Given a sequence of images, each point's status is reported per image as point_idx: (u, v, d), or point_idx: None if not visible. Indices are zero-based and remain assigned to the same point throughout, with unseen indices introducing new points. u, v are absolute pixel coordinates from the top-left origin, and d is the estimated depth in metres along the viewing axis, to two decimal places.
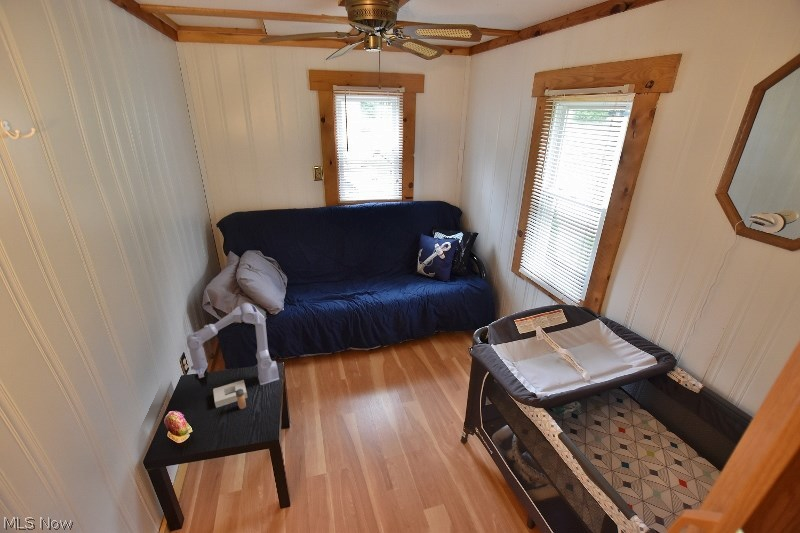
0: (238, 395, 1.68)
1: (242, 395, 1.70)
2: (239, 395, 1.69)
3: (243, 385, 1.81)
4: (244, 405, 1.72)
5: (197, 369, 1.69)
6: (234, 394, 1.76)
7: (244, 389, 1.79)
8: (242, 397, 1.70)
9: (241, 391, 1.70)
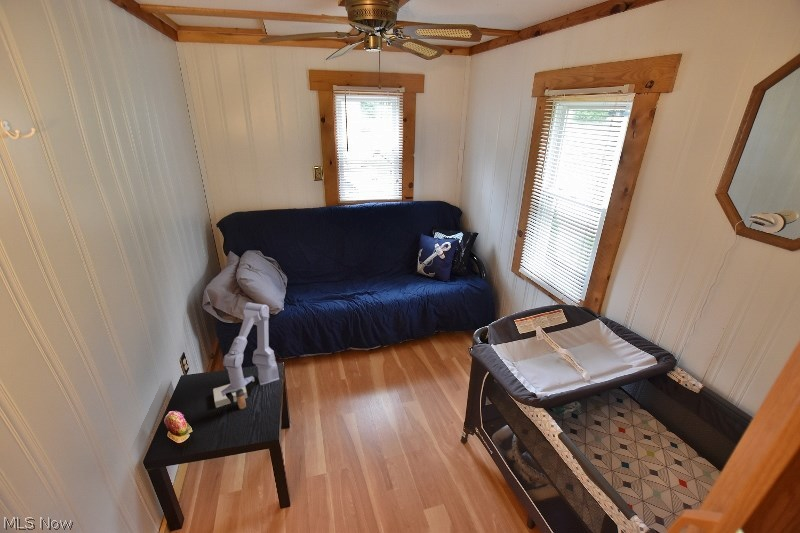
0: (238, 395, 1.68)
1: (242, 395, 1.70)
2: (239, 395, 1.69)
3: None
4: (244, 405, 1.72)
5: (230, 386, 1.67)
6: (234, 394, 1.76)
7: (244, 389, 1.79)
8: (242, 397, 1.70)
9: (241, 391, 1.70)
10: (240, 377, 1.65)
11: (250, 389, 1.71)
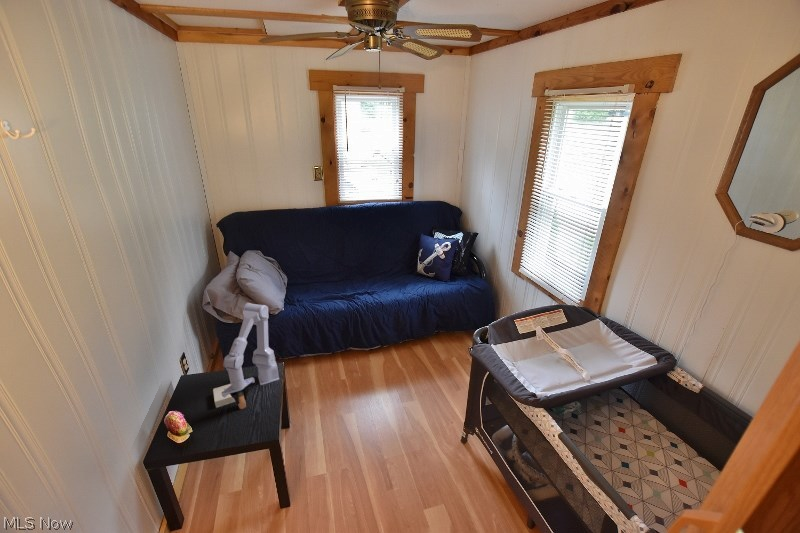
0: (238, 395, 1.68)
1: (242, 395, 1.70)
2: (239, 395, 1.69)
3: None
4: (244, 405, 1.72)
5: (231, 387, 1.67)
6: None
7: None
8: (242, 397, 1.70)
9: (241, 391, 1.70)
10: (240, 378, 1.65)
11: (246, 392, 1.70)
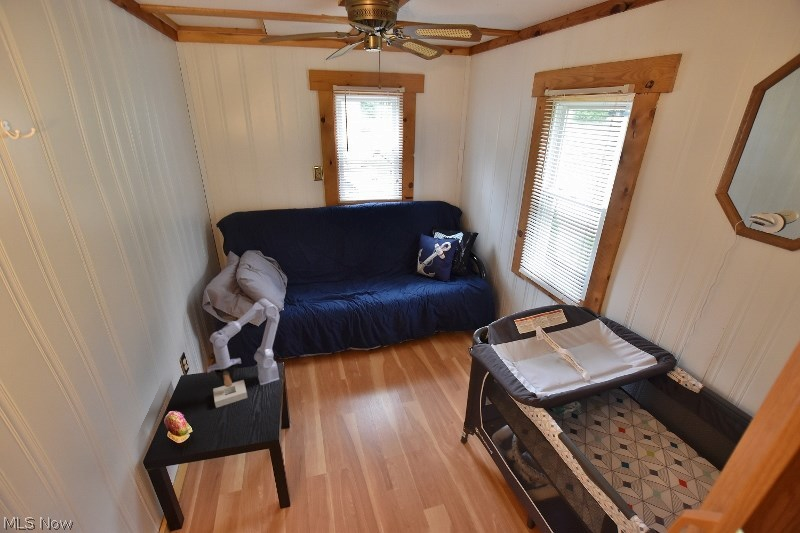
0: (223, 373, 1.72)
1: (227, 374, 1.73)
2: (224, 373, 1.72)
3: (243, 385, 1.81)
4: (229, 384, 1.75)
5: (217, 364, 1.72)
6: (234, 394, 1.76)
7: (244, 389, 1.79)
8: (227, 376, 1.73)
9: (226, 370, 1.73)
10: (222, 358, 1.67)
11: (231, 372, 1.73)
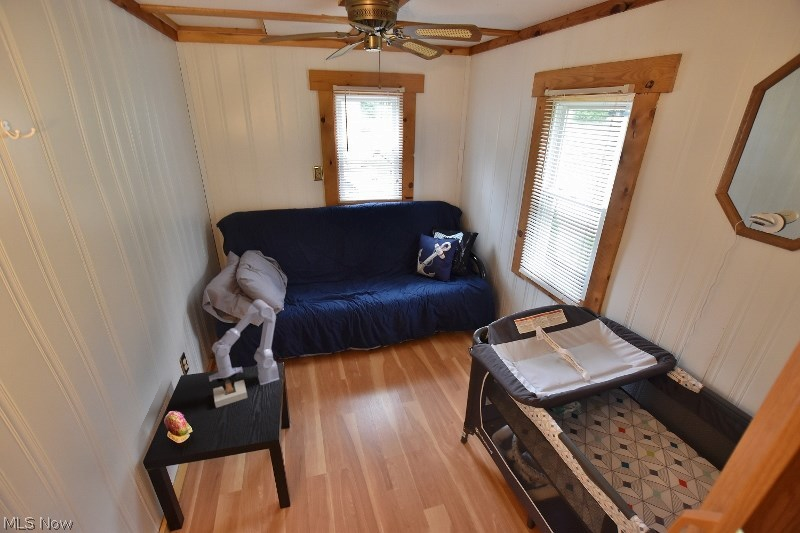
0: (225, 382, 1.74)
1: (229, 382, 1.75)
2: (225, 382, 1.74)
3: (243, 385, 1.81)
4: (231, 392, 1.77)
5: (219, 372, 1.74)
6: (234, 394, 1.76)
7: (244, 389, 1.79)
8: (229, 384, 1.75)
9: (228, 378, 1.75)
10: (224, 367, 1.70)
11: (233, 380, 1.75)
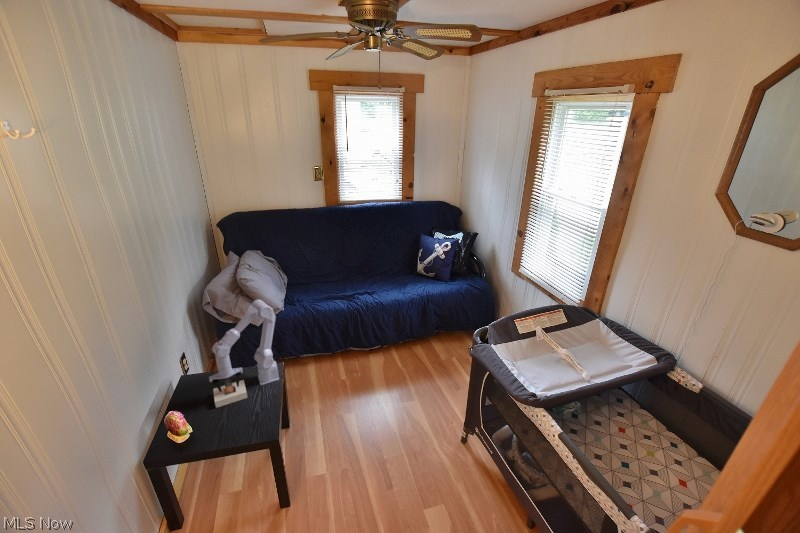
0: (225, 385, 1.75)
1: (229, 385, 1.76)
2: (226, 385, 1.75)
3: (243, 385, 1.81)
4: None
5: (219, 373, 1.74)
6: (234, 394, 1.76)
7: (244, 389, 1.79)
8: (229, 387, 1.76)
9: (229, 381, 1.76)
10: (224, 367, 1.70)
11: (237, 380, 1.76)
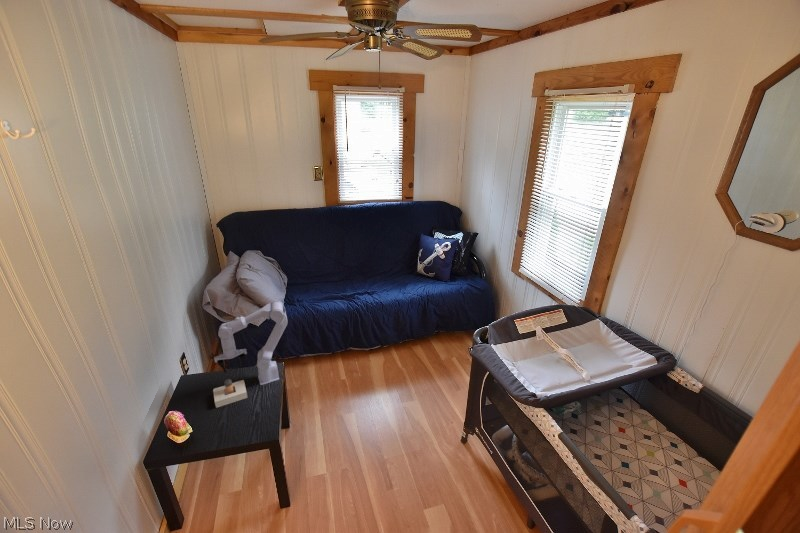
0: (225, 385, 1.75)
1: (229, 385, 1.76)
2: (226, 385, 1.75)
3: (243, 385, 1.81)
4: None
5: (224, 354, 1.80)
6: (234, 394, 1.76)
7: (244, 389, 1.79)
8: (229, 387, 1.76)
9: (229, 381, 1.76)
10: (226, 348, 1.75)
11: (241, 360, 1.82)
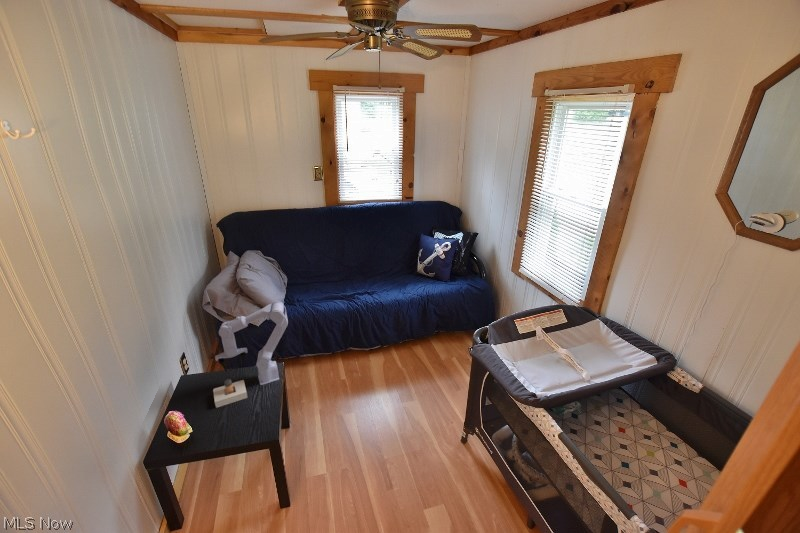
0: (225, 385, 1.75)
1: (229, 385, 1.75)
2: (226, 385, 1.75)
3: (243, 385, 1.81)
4: None
5: (224, 352, 1.81)
6: (234, 394, 1.76)
7: (244, 389, 1.79)
8: (229, 387, 1.76)
9: (229, 381, 1.76)
10: (226, 347, 1.77)
11: (242, 359, 1.83)
